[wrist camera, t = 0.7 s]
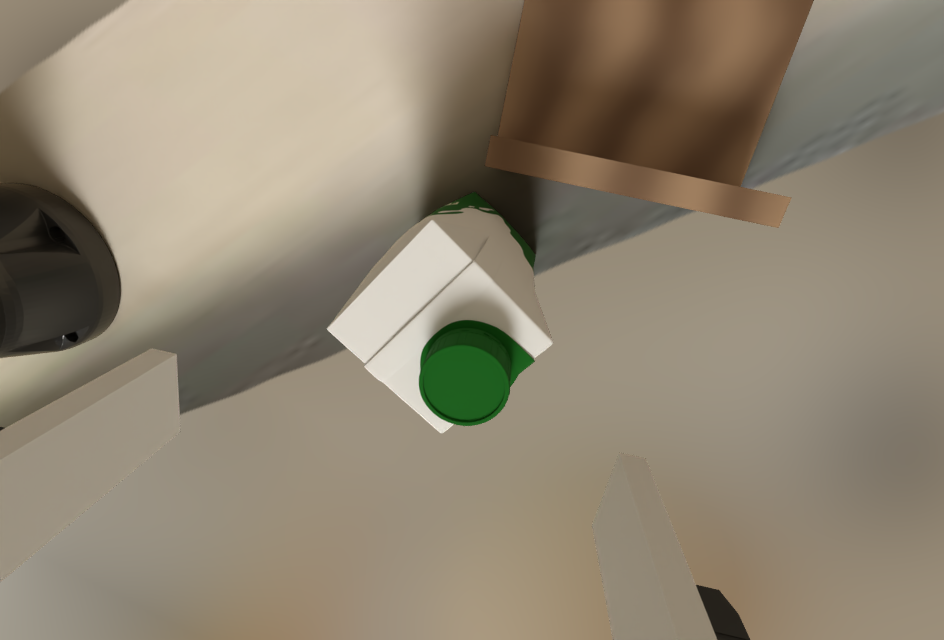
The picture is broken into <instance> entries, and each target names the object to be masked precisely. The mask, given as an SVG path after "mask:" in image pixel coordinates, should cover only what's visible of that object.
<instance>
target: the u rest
mask: <svg viewBox="0 0 944 640" xmlns="http://www.w3.org/2000/svg"><path fill="white" fill-rule="evenodd" d="M813 1H814V0H525V1H524V6H523V11H522V16H521V21H520V26H519V31H518V36H517V41H516V46H515V51H514V56H513V61H512V66H511V71H510V76H509V81H508V86H507V91H506V96H505V101H504V106H503V111H502V116H501V121H500V126H499V131H498V136H493V135H491V137H490V142H489V147H488V152H487V157H486V162H485V166H486V167H491V168H496V169H501V170H505V171H510V172H515V173H520V174H524V175H529V176H534V177H539V178H543V179H548V180H553V181H558V182H562V183H567V184H572V185H577V186H581V187H586V188H591V189H596V190H600V191H605V192H610V193H615V194H619V195H624V196H629V197H634V198H638V199H643V200H648V201H653V202H657V203H662V204H667V205H672V206H676V207H681V208H686V209H691V210H695V211H700V212H705V213H710V214H715V215H719V216H724V217H729V218H734V219H738V220H743V221H748V222H753V223H757V224H762V225H767V226H771V227H777V228H778V227H779V225H780V223H781V221H782V218H783V216H784V214H785V212H786V209H787V207H788V205H789V203H790V200H791V197H785V196H781V195H776V194H771V193H767V192H762V191H757V190H752V189H748V188H743V187H740V186H741V184H742V181H743V179H744V176H745V174H746V171H747V169H748V166H749V164H750V161H751V158H752V156H753V153H754V151H755V148H756V146H757V143H758V141H759V138H760V136H761V133H762V131H763V128H764V125H765V123H766V120H767V118H768V115H769V113H770V110H771V108H772V105H773V103H774V100H775V98H776V95H777V92H778V90H779V87H780V85H781V82H782V80H783V77H784V75H785V72H786V70H787V67H788V65H789V62H790V59H791V57H792V54H793V52H794V49H795V47H796V44H797V42H798V39H799V37H800V34H801V32H802V29H803V26H804V24H805V21H806V19H807V16H808V14H809V11H810V9H811V6H812V4H813Z"/></svg>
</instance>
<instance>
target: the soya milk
mask: <svg viewBox="0 0 944 640" xmlns="http://www.w3.org/2000/svg"><path fill="white" fill-rule="evenodd" d="M535 257H536V255H535V254H534V252H533V251H532V250H531V248H530V247H529V246H528V244H527V243H526V242H525V241H524V240H523V239H522V237H521V236H520V235H519V234H518V233H517V232H516V231H515V229H514V228H513V227H512V226H511V225H510V224H509V223H508V222H507V221H506V220H505V219H504V218H503V217H502V215H501V214H499V213H498V212H497V211H496V210H495V209H494V208H493V207H492V206H491V205H489V204H488V203H487V202H486V201H485V200H483V199H482V198H481V197H480V196H479V195H478V194H477V193H476V192H473V193H471V194H469V195H467V196H464V197H462V198H460V199H458V200H456V201H454V202H451V203H449V204H447V205H445V206H443V207H441V208H439V209H437V210H436V211H434V212H433V213H431V214H430V215H429V216H427V217H426V218H424V219H423V220H422V221H420V222H419V223H417V224H416V225H414V226H413V227H412V228H410V229H409V230H408V231H407V232H406V233H405V234H403V235H402V236H401V237H400V238H399V239H398V240H397V241H396V242H395V243H394V244H393V246H392V247H391V248H390V249H389V250H388V252H387V253H386V254H385V255H384V256H383V257H382V258H381V259H380V260H379V261H378V262H377V264H376V265H375V266H374V267H373V268H372V269H371V271H370V272H369V273H368V275H367V276H366V277H365V279H364V280H363V281H362V283H361V284H360V285H359V287H358V288H357V289H356V291H355V292H354V293H353V295H352V296H351V297H350V299H349V300H348V301H347V303H346V304H345V305H344V307H343V308H342V309H341V311H340V312H339V313H338V315H337V316H336V317H335V319H334V320H333V321H332V323H331V324H330V325H329V326H328V328H327V330H328V331H329V332H330V333H331V334H332V335H334V336H335V337H336V338H337V339H338V340H339V341H340V342H341V343H342V344H344V345H345V346H346V347H347V348H348V349H349V350H350V351H351V352H352V353H354V354H355V355H356V356H357V357H358V358H359V359H360V360H361V361H363V362H364V363H365V365H364V367H365V368H366V369H367V370H368V371H369V372H370V373H371V374H372V375H373V376H375V377H376V378H377V379H378V380H379V381H381V382H383V383H384V384H385V385H387V387H389V388H390V389H391V390H392V391H393V392H394V393H395V394H396V395H398V396H399V397H400V398H401V399H402V400H403V401H405V402H406V403H407V404H408V405H409V406H410V407H411V408H412V409H414V410H415V411H416V412H417V413H418V414H419V415H420V416H421V417H423V418H424V419H425V420H426V421H427V422H428V423H429V424H431V425H432V426H433V427H434V428H435V429H436V430H438V431H439V432H440V433H444V432H445V431H446V430H448V429H449V428H450V427H451V426H452V425H453V424H456V425H463V426H472V425H478V424H482V423H484V422H487V421H489V420H491V419H492V418H494V417H495V416H496V415H497V414H498V413H499V412H500V411H501V410H502V409H503V407H504V406H505V404H506V402H507V400H508V396H509V394H510V387H511V385H512V384H513V383H514V381H515V380H516V378H517V376H518V375H519V374H520V373H521V372H522V371H523V370H524V369H526V368H527V367H528V366H530V365H531V364H532V363H533V362H535V361H534V358H535V357H537V356H538V355H539V354H540V353H542V352H543V351H544V350H546V349H547V348H548V347H549V346H551V345H552V344H553V340H552V337H551V334H550V332H549V329H548V327H547V323H546V321H545V318H544V315H543V312H542V310H541V307H540V304H539V301H538V298H537V295H536V292H535V285H534V271H533V267H534V262H535Z"/></svg>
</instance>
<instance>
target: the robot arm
mask: <svg viewBox="0 0 944 640" xmlns="http://www.w3.org/2000/svg"><path fill="white" fill-rule="evenodd" d="M119 299H120V285H119V278H118V273H117V270H116V266H115V263H114V261H113V258H112V256H111V254H110V252H109V250H108V248H107V246H106V244H105V243H104V241H103V239H102V238H101V236H100V235H99V233H98V232H97V231H96V230H95V228H94V227H93V226H92V225H91V224H90V222H89V221H88V220H87V219H86V218H85V217H84V216H83V215H82V214H81V213H80V212H79V211H77V210H76V209H75V208H74V207H73V206H71V205H70V204H68V203H67V202H66V201H64V200H63V199H61V198H59V197H58V196H56V195H54V194H52V193H50V192H48V191H45V190H43V189H40V188H37V187H34V186H30V185H25V184H17V183H9V184H0V358H5V357H14V356H23V355H31V354H40V353H49V352H58V351H63V350H66V349H70V348H73V347H76V346H78V345H80V344H82V343H85V342H87V341H89V340H91V339H94V338H96V337H97V336H99V335H100V334H102V333H103V332H104V331H105V330H106V329H107V328H108V327H109V326H110V324H111V323H112V321H113V320H114V318H115V315H116V313H117V310H118V306H119ZM178 433H180V414H179V393H178V373H177V354H174V353H170V352H165V351H161V350H156V349H152V348H151V349H150V350H148V351H146V352H144V353H142V354H140V355H139V356H137V357H135V358H133V359H131V360H129V361H127V362H126V363H124V364H122V365H120V366H118V367H116V368H115V369H113V370H111V371H109V372H107V373H105V374H104V375H102V376H100V377H98V378H96V379H94V380H93V381H91V382H89V383H87V384H85V385H83V386H82V387H80V388H78V389H76V390H74V391H72V392H71V393H69V394H67V395H65V396H63V397H61V398H60V399H58V400H56V401H54V402H52V403H50V404H49V405H47V406H45V407H43V408H41V409H39V410H38V411H36V412H34V413H32V414H30V415H28V416H27V417H25V418H23V419H21V420H19V421H17V422H16V423H14V424H12V425H10V426H8V427H6V428H3V427H0V582H1V581H2V580H4V579H5V578H6V577H7V576H8V575H9V574H11V573H12V572H13V571H14V570H16V569H17V568H18V567H19V566H20V565H22V564H23V563H24V562H25V561H26V560H28V559H29V558H30V557H31V556H32V555H33V554H35V553H36V552H37V551H38V550H40V549H41V548H42V547H43V546H44V545H45V544H47V543H48V542H49V541H50V540H51V539H53V538H54V537H55V536H56V535H58V534H59V533H60V532H61V531H62V530H63V529H65V528H66V527H67V526H68V525H70V524H71V523H72V522H73V521H74V520H75V519H77V518H78V517H79V516H80V515H81V514H83V513H84V512H85V511H86V510H87V509H89V508H90V507H91V506H92V505H93V504H95V503H96V502H97V501H98V500H99V499H100V498H102V497H103V496H104V495H105V494H107V493H108V492H109V491H110V490H111V489H112V488H114V487H115V486H116V485H117V484H118V483H120V482H121V481H122V480H123V479H125V478H126V477H127V476H128V475H129V474H131V473H132V472H133V471H134V470H135V469H137V468H138V467H139V466H140V465H141V464H142V463H144V462H145V461H146V460H147V459H149V458H150V457H151V456H152V455H153V454H155V453H156V452H157V451H158V450H159V449H160V448H162V447H163V446H164V445H165V444H166V443H168V442H169V441H170V440H171V439H172V438H174V437H175V436H176V435H177V434H178ZM592 528H593V533H594V539H595V544H596V549H597V555H598V560H599V566H600V571H601V577H602V583H603V588H604V594H605V599H606V605H607V610H608V616H609V621H610V626H611V632H612V637H613V640H750V638H749V636H748V634H747V632H746V629H745V627H744V625H743V623H742V621H741V619H740V617H739V615H738V613H737V612H736V611H735V609H734V608H733V607H732V606H731V604H730V603H729V602H728V601H727V599H726V598H725V597H724V596H723V594H722V593H721V592H720V591H719V590H716V589H712V588H708V587H703V586H699V585H695V582H694V580H693V577H692V574H691V572H690V569H689V567H688V564H687V562H686V559H685V556H684V554H683V551H682V549H681V546H680V544H679V541H678V539H677V536H676V534H675V531H674V529H673V526H672V524H671V521H670V519H669V516H668V514H667V511H666V508H665V506H664V503H663V501H662V498H661V496H660V493H659V490H658V488H657V486H656V483H655V480H654V478H653V475H652V473H651V470H650V468H649V465H648V463H647V460H646V458H642V457H638V456H633V455H629V454H624V453H619V454H618V457H617V460H616V462H615V465H614V468H613V470H612V473H611V476H610V479H609V481H608V484H607V487H606V489H605V492H604V495H603V497H602V500H601V503H600V505H599V508H598V511H597V513H596V516H595V519H594V521H593V524H592Z"/></svg>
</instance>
